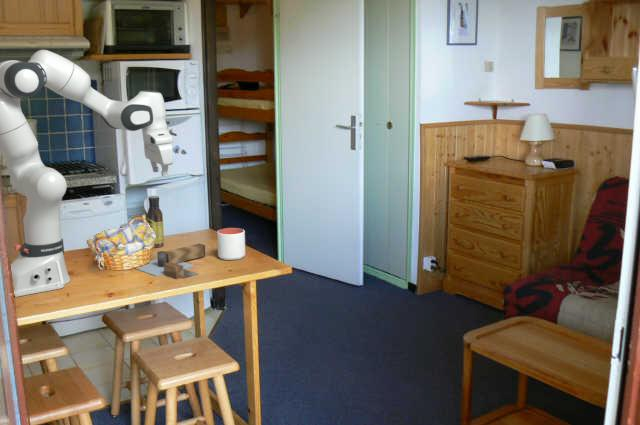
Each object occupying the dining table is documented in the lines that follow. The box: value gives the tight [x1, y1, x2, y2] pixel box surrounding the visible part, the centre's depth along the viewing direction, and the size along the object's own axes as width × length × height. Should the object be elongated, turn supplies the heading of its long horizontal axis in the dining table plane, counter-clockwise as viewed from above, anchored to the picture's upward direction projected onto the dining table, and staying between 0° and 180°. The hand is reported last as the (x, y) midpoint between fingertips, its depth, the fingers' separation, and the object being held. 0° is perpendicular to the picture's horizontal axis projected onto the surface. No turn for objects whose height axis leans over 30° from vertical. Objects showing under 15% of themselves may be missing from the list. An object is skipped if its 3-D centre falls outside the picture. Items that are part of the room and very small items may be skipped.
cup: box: [216, 227, 246, 261], centre depth 258 cm, size 10×10×10 cm
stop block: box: [164, 262, 199, 280], centre depth 239 cm, size 8×8×4 cm
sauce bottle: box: [145, 195, 165, 248], centre depth 273 cm, size 7×6×20 cm
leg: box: [156, 243, 206, 266], centre depth 254 cm, size 19×4×5 cm, turn 136°
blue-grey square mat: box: [135, 259, 195, 277], centre depth 249 cm, size 16×16×1 cm
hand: (160, 174), depth 253 cm, fingers open, 8 cm apart
